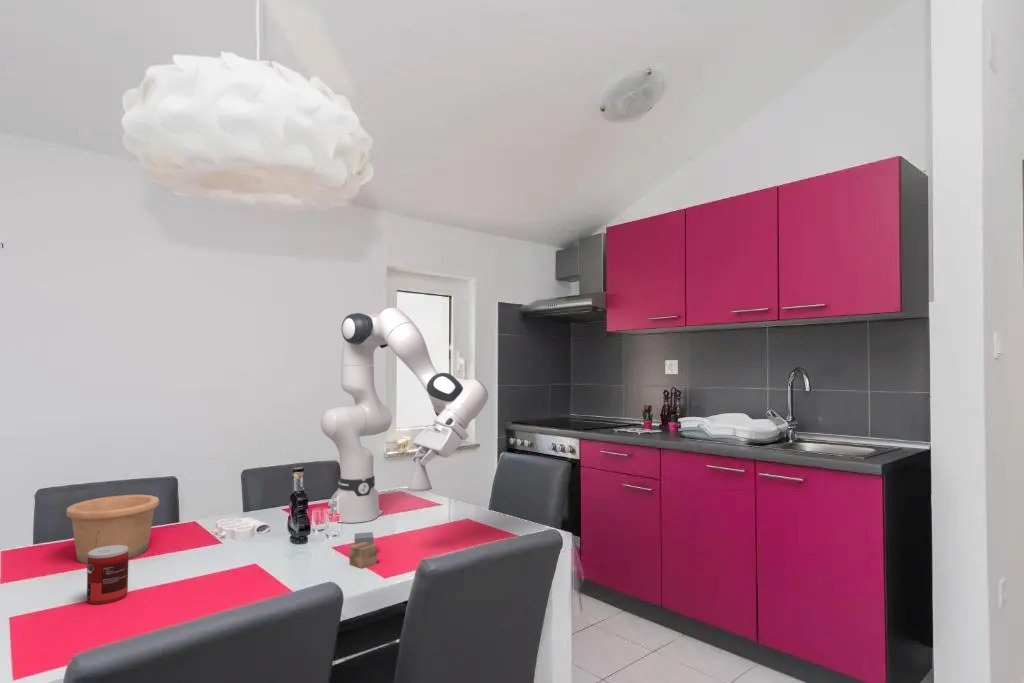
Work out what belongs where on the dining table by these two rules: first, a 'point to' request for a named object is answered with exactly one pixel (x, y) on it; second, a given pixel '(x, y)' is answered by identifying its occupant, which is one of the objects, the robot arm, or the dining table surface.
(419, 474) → the flask
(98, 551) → the canned food
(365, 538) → the charcoal block
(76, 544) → the pottery
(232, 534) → the white holed piece
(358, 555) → the walnut block
